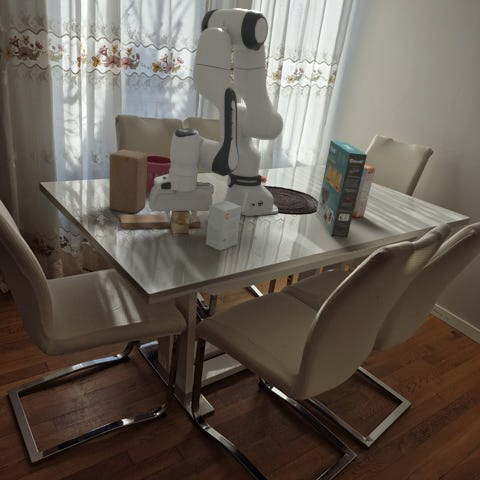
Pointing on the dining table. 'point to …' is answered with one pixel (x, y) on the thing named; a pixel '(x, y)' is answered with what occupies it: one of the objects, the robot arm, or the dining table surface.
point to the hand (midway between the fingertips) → (179, 222)
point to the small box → (223, 225)
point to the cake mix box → (340, 187)
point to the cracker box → (363, 191)
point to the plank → (151, 221)
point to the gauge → (180, 221)
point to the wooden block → (128, 181)
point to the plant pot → (156, 169)
